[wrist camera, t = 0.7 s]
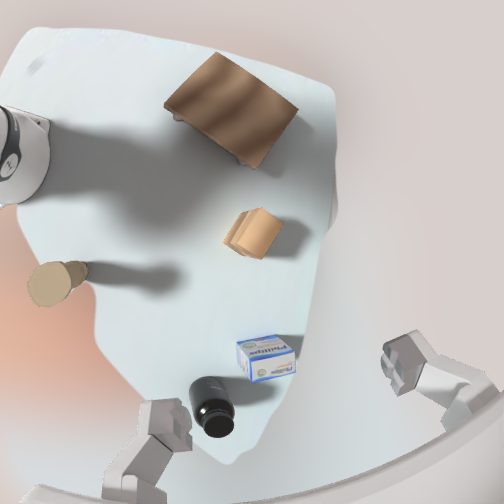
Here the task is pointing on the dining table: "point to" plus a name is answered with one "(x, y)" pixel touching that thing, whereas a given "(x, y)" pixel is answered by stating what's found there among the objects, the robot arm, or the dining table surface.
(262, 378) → the medicine box
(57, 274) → the handle
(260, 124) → the walnut shelf
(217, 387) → the supplement bottle
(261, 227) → the ochre block
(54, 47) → the dining table surface
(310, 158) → the dining table surface
